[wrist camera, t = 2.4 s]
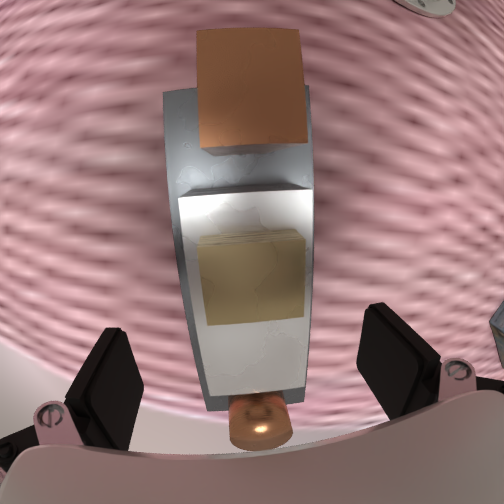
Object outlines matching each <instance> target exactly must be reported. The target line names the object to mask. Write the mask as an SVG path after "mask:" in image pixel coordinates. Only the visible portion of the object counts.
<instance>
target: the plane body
mask: <svg viewBox="0 0 504 504" xmlns="http://www.w3.org/2000/svg"><path fill="white" fill-rule="evenodd" d="M163 115H164V138H165V155H166V169H167V181H168V192H169V202H170V212H171V221H172V229H173V237H174V245H175V252H176V259H177V266H178V273H179V279H180V285H181V291H182V297H183V303H184V309H185V314H186V319H187V325H188V330H189V335H190V340H191V345H192V349H193V354H194V358H195V363H196V367H197V372H198V376H199V380H200V384H201V389H202V393H203V397H204V401H205V404H206V408H207V411H227V410H229V431H230V441H231V443H232V444H233V445H234V446H236V447H238V448H240V449H243V450H247V451H262V450H270V449H274V448H277V447H279V446H281V445H283V444H285V443H286V442H287V441H288V440H289V439H290V438H291V437H292V434H293V430H292V426H291V422H290V418H289V414H288V410H287V406H286V405H287V404H293V403H300V402H304V397H305V388H306V378H307V367H308V355H309V342H310V328H311V311H312V291H313V261H314V176H313V147H312V127H311V111H310V97H309V85H304V74H303V64H302V54H301V45H300V36H299V30H296V29H282V28H224V29H209V30H199V31H197V88H190V89H182V90H174V91H167V92H163ZM271 184H297V185H300V186H303V187H306V188H309V189H312V198H313V243H312V284H311V307H310V325H309V340H308V354H307V366H306V377H305V387H299V388H292V389H285V390H277V391H269V392H260V393H250V394H238V395H223V396H210V394H209V389H208V385H207V380H206V376H205V371H204V366H203V361H202V357H201V351H200V346H199V341H198V336H197V330H196V325H195V319H194V313H193V307H192V301H191V295H190V289H189V282H188V275H187V268H186V261H185V253H184V245H183V237H182V229H181V220H180V210H179V200H178V198H179V197H180V196H182V195H183V194H185V193H186V192H187V191H189V190H198V189H209V188H222V187H235V186H251V185H271Z"/></svg>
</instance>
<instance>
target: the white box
mask: <svg viewBox="0 0 504 504" xmlns="http://www.w3.org/2000/svg"><path fill="white" fill-rule="evenodd" d="M178 200H179V210H180V220H181V229H182V237H183V245H184V253H185V261H186V268H187V275H188V282H189V289H190V295H191V301H192V307H193V313H194V319H195V325H196V330H197V336H198V341H199V346H200V351H201V357H202V361H203V366H204V371H205V376H206V380H207V385H208V389H209V394H210V396H223V395H238V394H250V393H260V392H269V391H277V390H285V389H292V388H299V387H305V377H306V366H307V354H308V340H309V325H310V307H311V284H312V243H313V198H312V189H309V188H306V187H303V186H300V185H297V184H271V185H251V186H235V187H222V188H209V189H198V190H189V191H187V192H186V193H185V194H183V195H182V196H180V197H179V198H178Z"/></svg>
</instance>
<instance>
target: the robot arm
mask: <svg viewBox="0 0 504 504" xmlns="http://www.w3.org/2000/svg"><path fill="white" fill-rule="evenodd" d="M395 1H396V2H398V3H399V4H401V5H403V6H405V7H406V8H408V9H410V10H412V11H415V12H417V13H419V14H421V15H425V16H428V17H433V18H441V17H445V16H447V15H449V14H451V13H452V12H453V11H454V9H455V6H456V1H455V0H395ZM440 358H441V356H440V355H439V354H438V353H437V352H436V351H435V350H434V349H433V348H432V347H431V346H430V345H429V344H428V343H427V342H426V341H425V340H424V339H423V338H422V337H421V336H420V335H418V334H417V333H416V332H415V331H414V330H413V329H412V328H411V327H410V326H409V325H408V324H407V323H406V322H405V321H404V320H402V319H401V318H400V317H399V316H398V315H397V314H396V313H395V312H394V311H393V310H392V309H390V308H389V307H388V306H387V305H386V304H385V303H383V302H381V303H375V304H370V305H369V307H368V308H367V309H366V310H365V313H364V320H363V326H362V333H361V339H360V344H359V350H358V355H357V361H356V364H357V368H358V370H359V372H360V373H361V375H362V376H363V378H364V379H365V381H366V383H367V384H368V386H369V387H370V389H371V391H372V392H373V394H374V395H375V397H376V398H377V400H378V402H379V403H380V405H381V406H382V408H383V410H384V411H385V413H386V415H387V416H388V418H389V419H390V421H387V422H384V423H381V424H379V425H375V426H372V427H369V428H366V429H363V430H359V431H356V432H353V433H349V434H345V435H341V436H338V437H334V438H330V439H325V440H321V441H316V442H312V443H307V444H301V445H296V446H290V447H284V448H278V449H270V450H262V451H253V452H243V453H231V454H207V455H180V454H157V453H143V452H132V451H128V449H129V444H130V440H131V436H132V432H133V428H134V424H135V420H136V417H137V413H138V409H139V406H140V402H141V398H142V395H143V391H144V384H143V381H142V378H141V376H140V373H139V370H138V367H137V365H136V362H135V359H134V356H133V353H132V350H131V347H130V344H129V341H128V337H127V334H126V332H125V331H122V330H121V328H105V330H104V331H103V333H102V334H101V336H100V338H99V339H98V341H97V342H96V344H95V346H94V347H93V349H92V350H91V352H90V354H89V355H88V357H87V359H86V360H85V362H84V364H83V366H82V367H81V369H80V371H79V372H78V374H77V376H76V378H75V379H74V381H73V383H72V385H71V387H70V388H69V390H68V392H67V394H66V396H65V398H66V400H65V402H64V403H62V402H59V401H49V402H46V403H44V404H42V405H41V406H40V407H38V408H37V410H36V411H35V413H34V417H33V419H34V425H32V426H30V427H27V428H25V429H23V430H21V431H18V432H16V433H13V434H11V435H8V436H6V437H4V438H2V439H0V504H504V381H501V380H495V379H489V378H483V377H477V376H476V374H475V369H474V367H473V366H472V365H471V364H470V363H469V362H468V361H466V360H464V359H460V358H450V359H447V360H445V361H444V362H443V363H441V362H440V361H439V360H440Z"/></svg>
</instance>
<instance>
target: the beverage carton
mask: <svg viewBox="0 0 504 504" xmlns="http://www.w3.org/2000/svg"><path fill="white" fill-rule="evenodd" d="M489 322H490V326H491V328H492V332H493V335H494V338H495V342H496V345H497V349H498V352H499V356H500V360H501V364H502V368H504V301H503V302H502V304H501V305H500V307H499V308H498V310H497V311H496V313H495V314H494V315H493V317H492V318H491V320H490V321H489Z"/></svg>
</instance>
